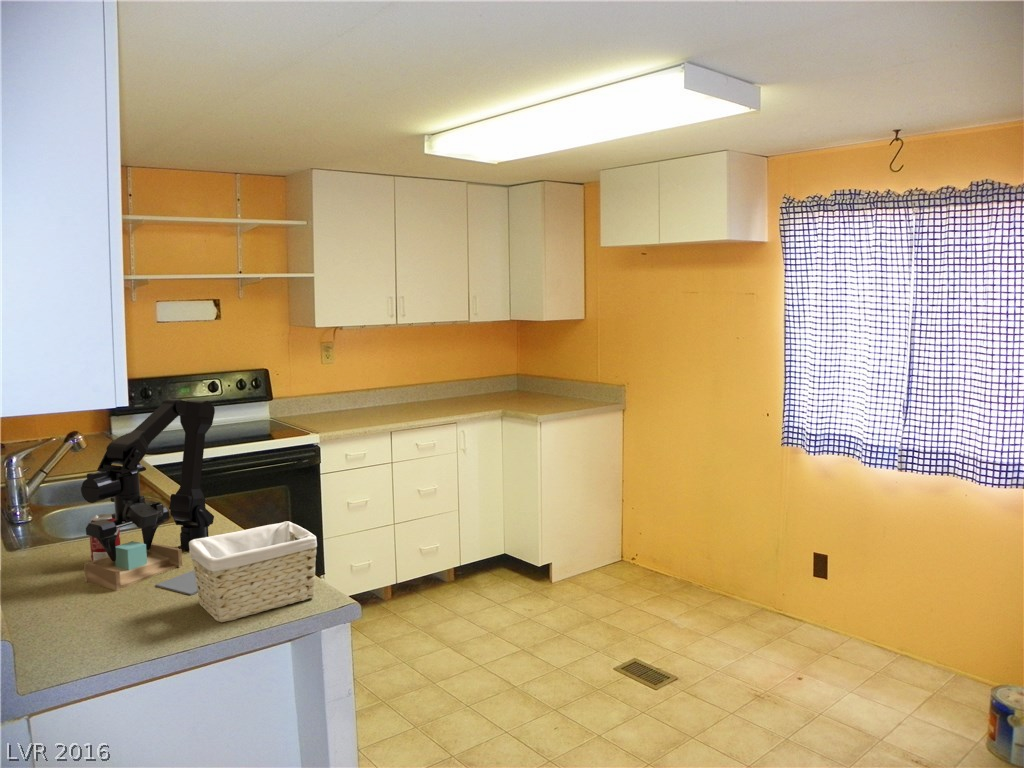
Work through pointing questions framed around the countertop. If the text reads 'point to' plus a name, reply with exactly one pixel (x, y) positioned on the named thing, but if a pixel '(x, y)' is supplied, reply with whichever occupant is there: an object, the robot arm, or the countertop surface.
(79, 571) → the countertop surface
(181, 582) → the mat
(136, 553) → the cube
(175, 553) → the crate
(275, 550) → the storage basket
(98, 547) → the soda can
